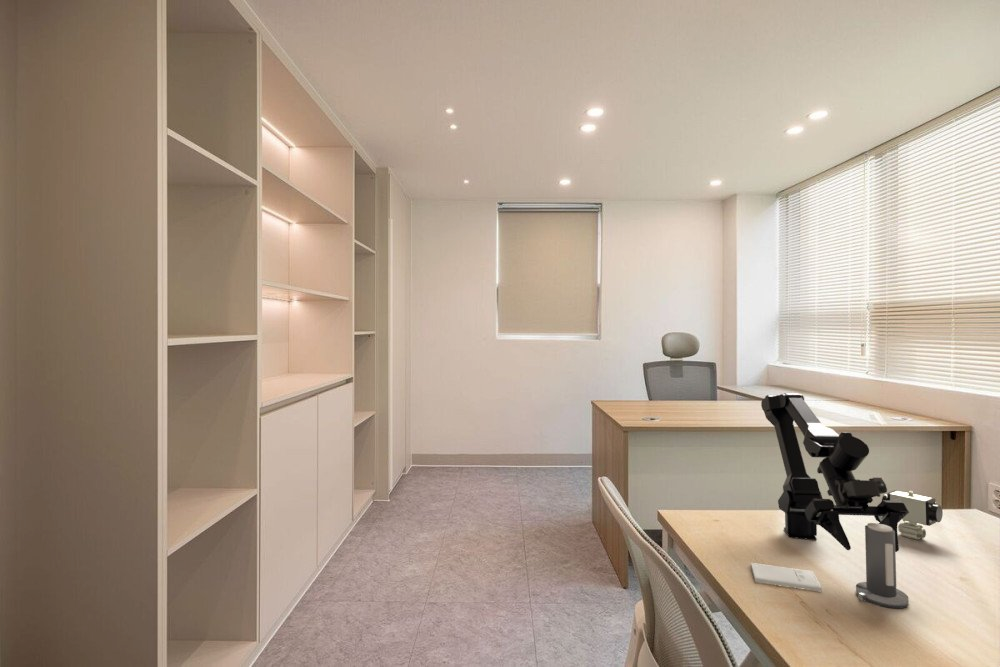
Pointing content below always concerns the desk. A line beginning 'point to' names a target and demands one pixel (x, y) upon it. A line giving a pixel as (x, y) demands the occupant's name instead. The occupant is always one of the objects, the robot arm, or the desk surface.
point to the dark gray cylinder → (880, 560)
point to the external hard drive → (785, 576)
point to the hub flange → (888, 602)
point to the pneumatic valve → (916, 513)
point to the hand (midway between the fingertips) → (872, 550)
